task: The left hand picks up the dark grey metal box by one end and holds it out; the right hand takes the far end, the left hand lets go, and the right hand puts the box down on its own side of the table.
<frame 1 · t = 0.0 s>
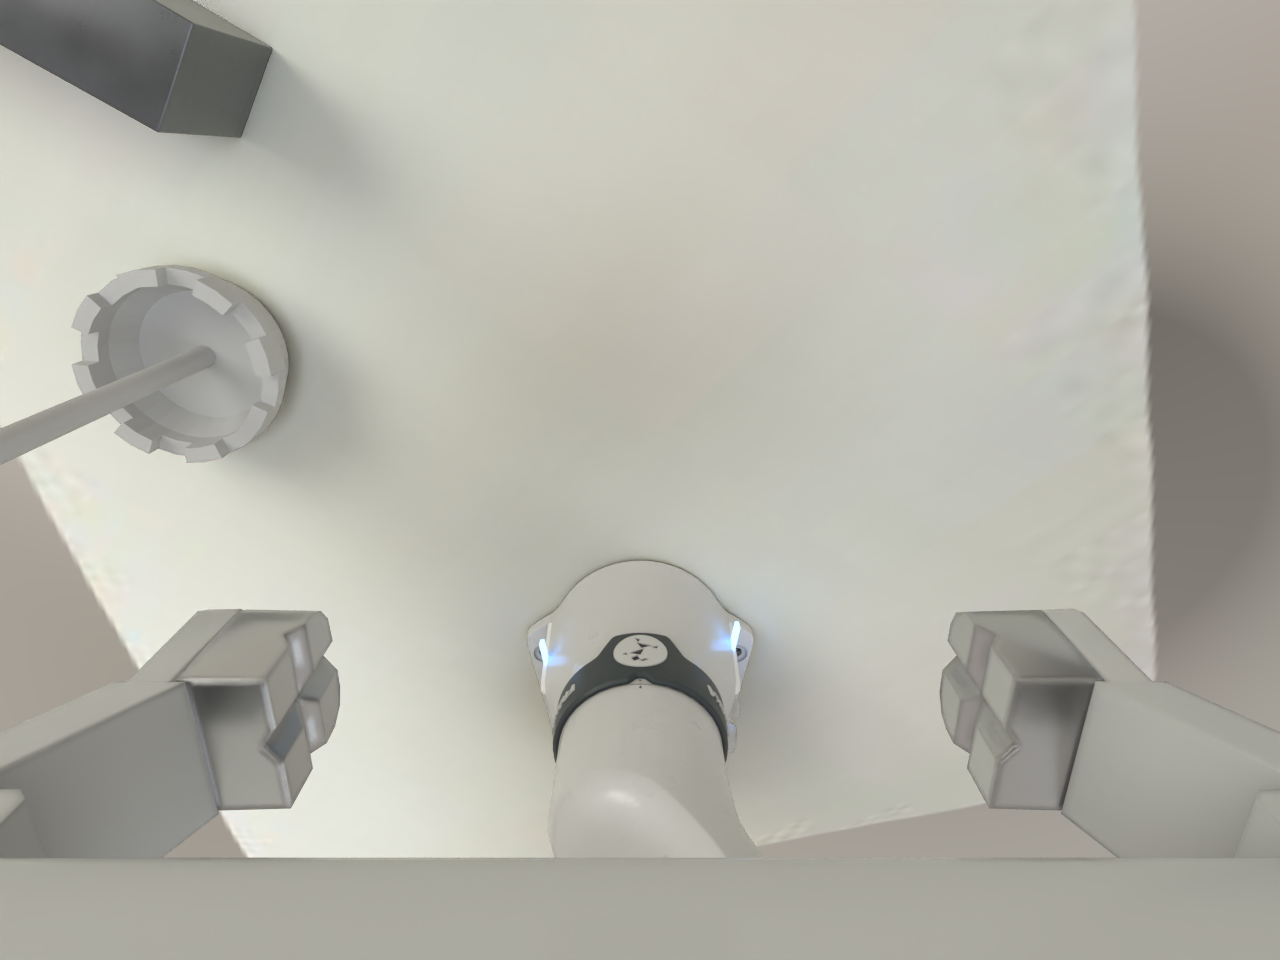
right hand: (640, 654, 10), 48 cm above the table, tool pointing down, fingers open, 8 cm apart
flag stand: (213, 352, 57), on the table
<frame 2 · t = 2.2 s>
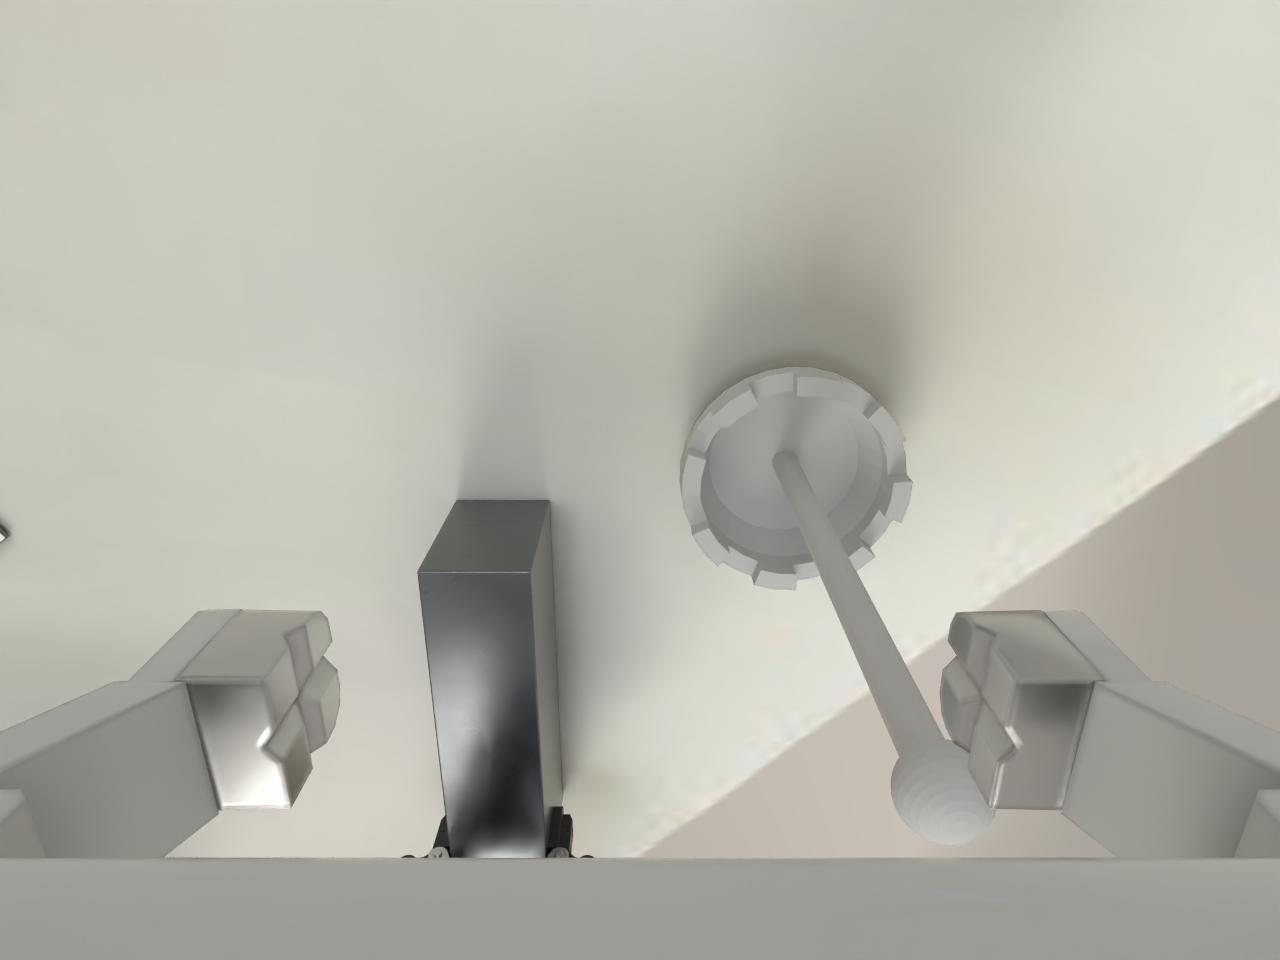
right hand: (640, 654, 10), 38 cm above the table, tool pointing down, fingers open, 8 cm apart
flag stand: (780, 455, 50), on the table
box: (513, 660, 56), on the table, touching left hand
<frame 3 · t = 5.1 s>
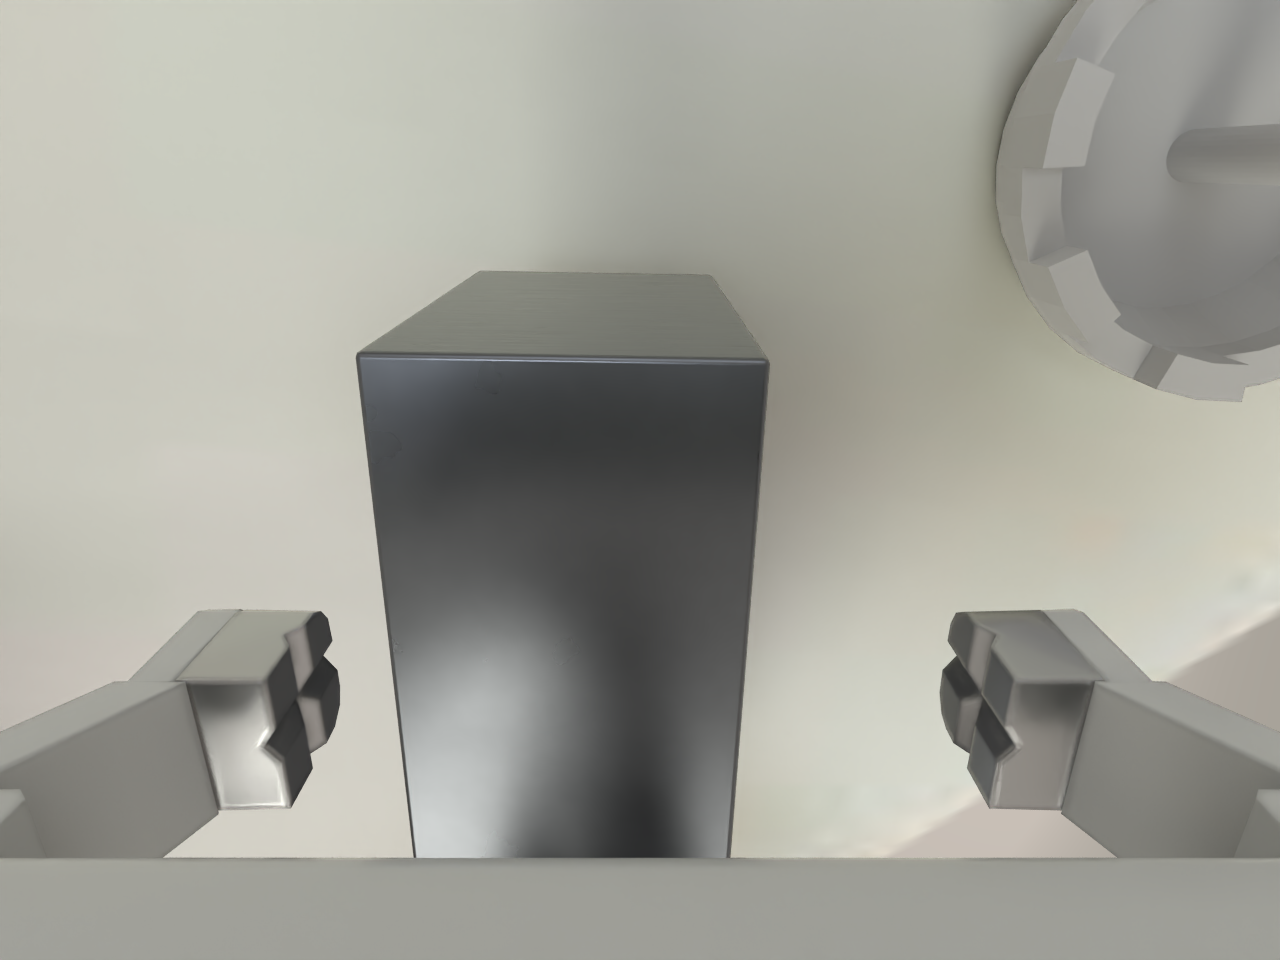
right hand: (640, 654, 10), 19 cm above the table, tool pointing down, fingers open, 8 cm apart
flag stand: (1166, 156, 25), on the table
box: (596, 670, 25), point 6 cm above the table, touching left hand
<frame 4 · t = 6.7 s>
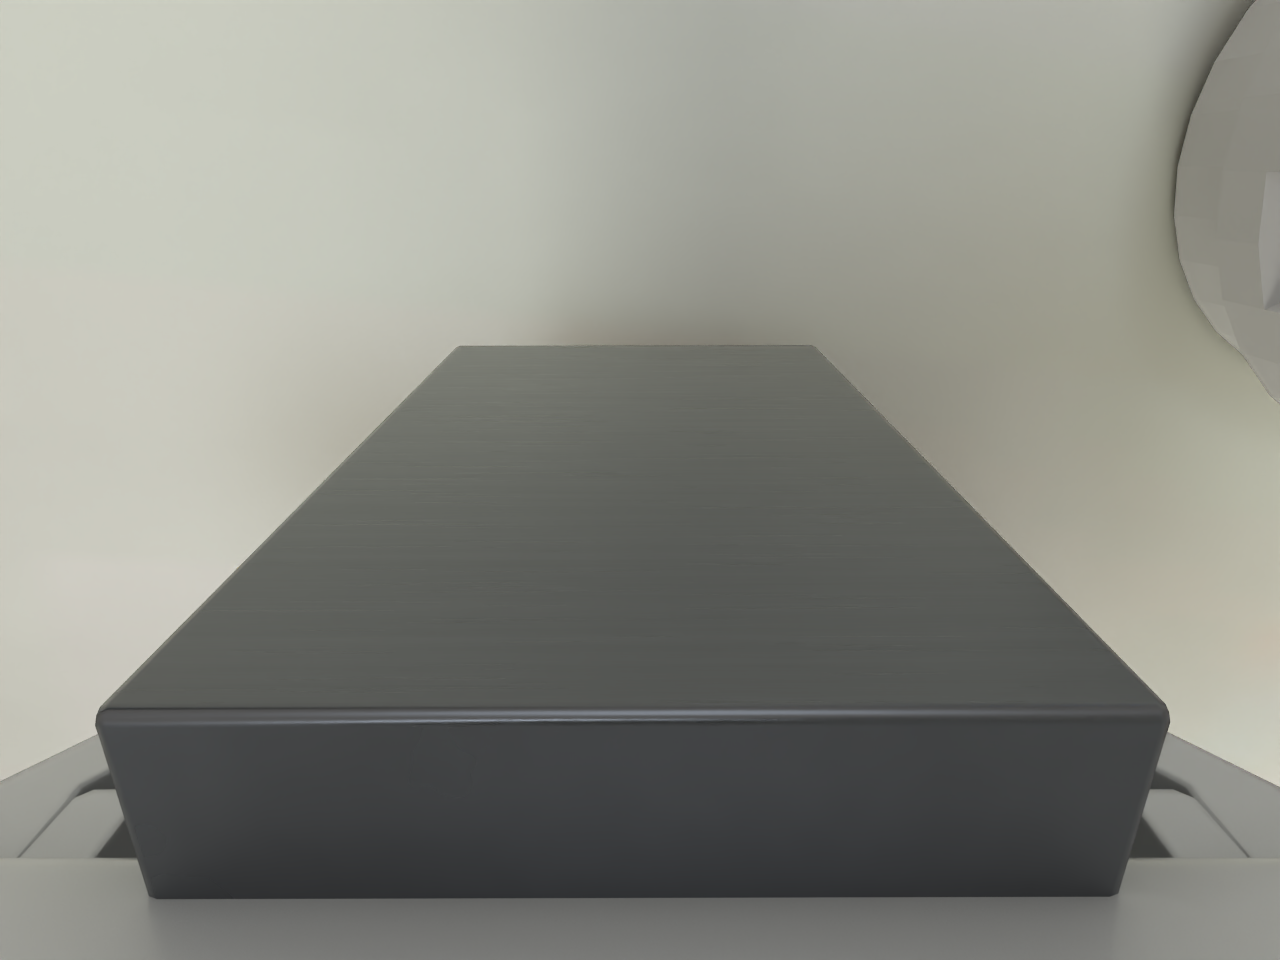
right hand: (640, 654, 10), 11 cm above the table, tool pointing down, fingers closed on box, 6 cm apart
box: (637, 883, 18), point 6 cm above the table, touching right hand, left hand
when the left hand's fingers open (12 cm above the table, at t = 7.8 s): box stays where it is, held by the right hand.
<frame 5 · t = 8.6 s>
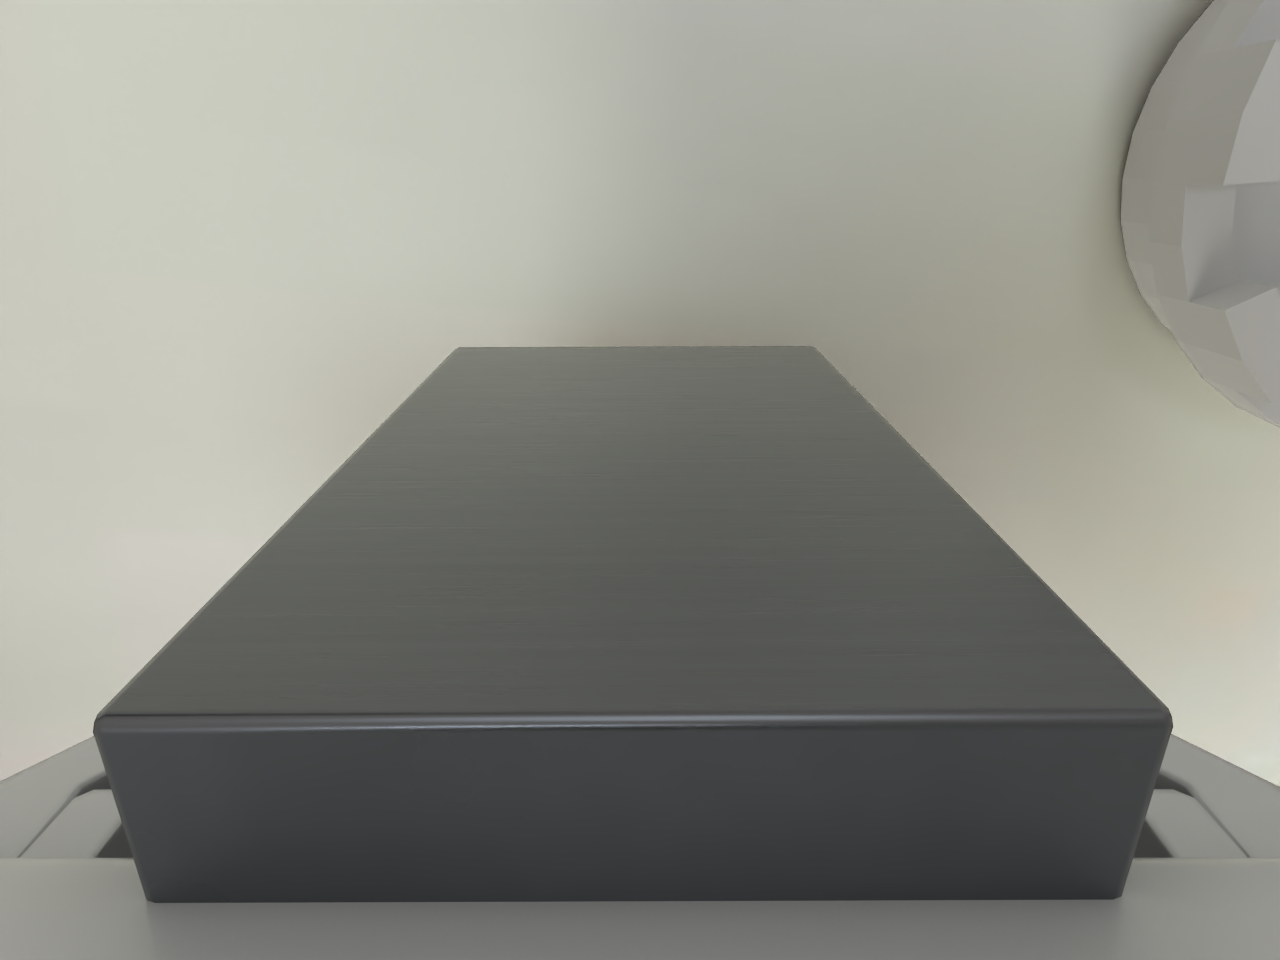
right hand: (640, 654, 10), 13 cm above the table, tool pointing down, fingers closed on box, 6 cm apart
box: (637, 884, 18), point 9 cm above the table, touching right hand
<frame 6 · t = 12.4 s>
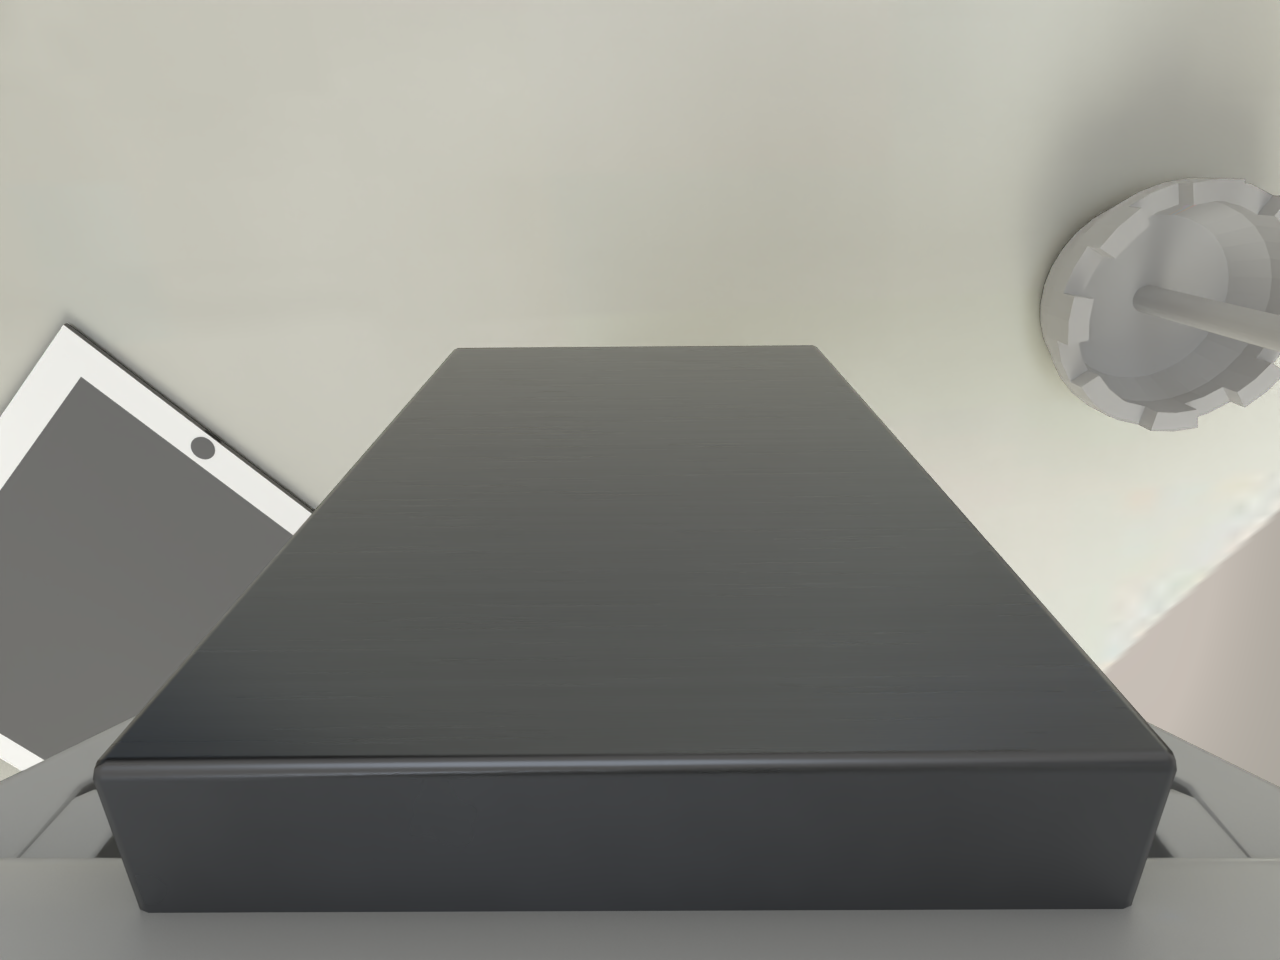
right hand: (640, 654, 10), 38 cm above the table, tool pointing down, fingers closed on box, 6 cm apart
flag stand: (1133, 296, 46), on the table
box: (640, 875, 18), point 34 cm above the table, touching right hand
tablet: (86, 596, 54), on the table
when the right hand's fingers open (6 cm above the table, at t = 18.2 s): box stays where it is, on the table.
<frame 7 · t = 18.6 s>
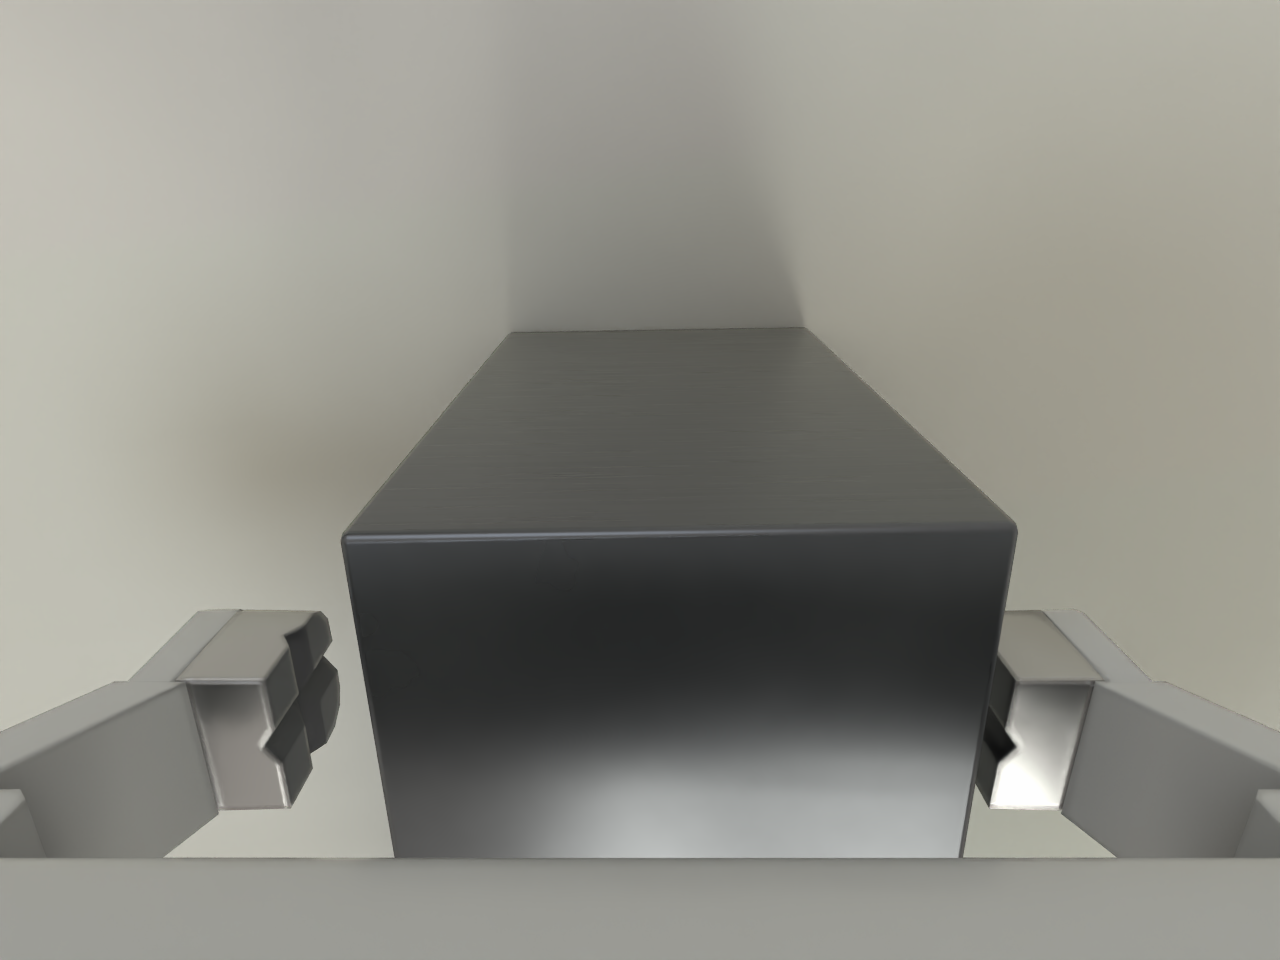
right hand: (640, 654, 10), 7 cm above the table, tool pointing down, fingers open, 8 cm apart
box: (662, 805, 20), on the table
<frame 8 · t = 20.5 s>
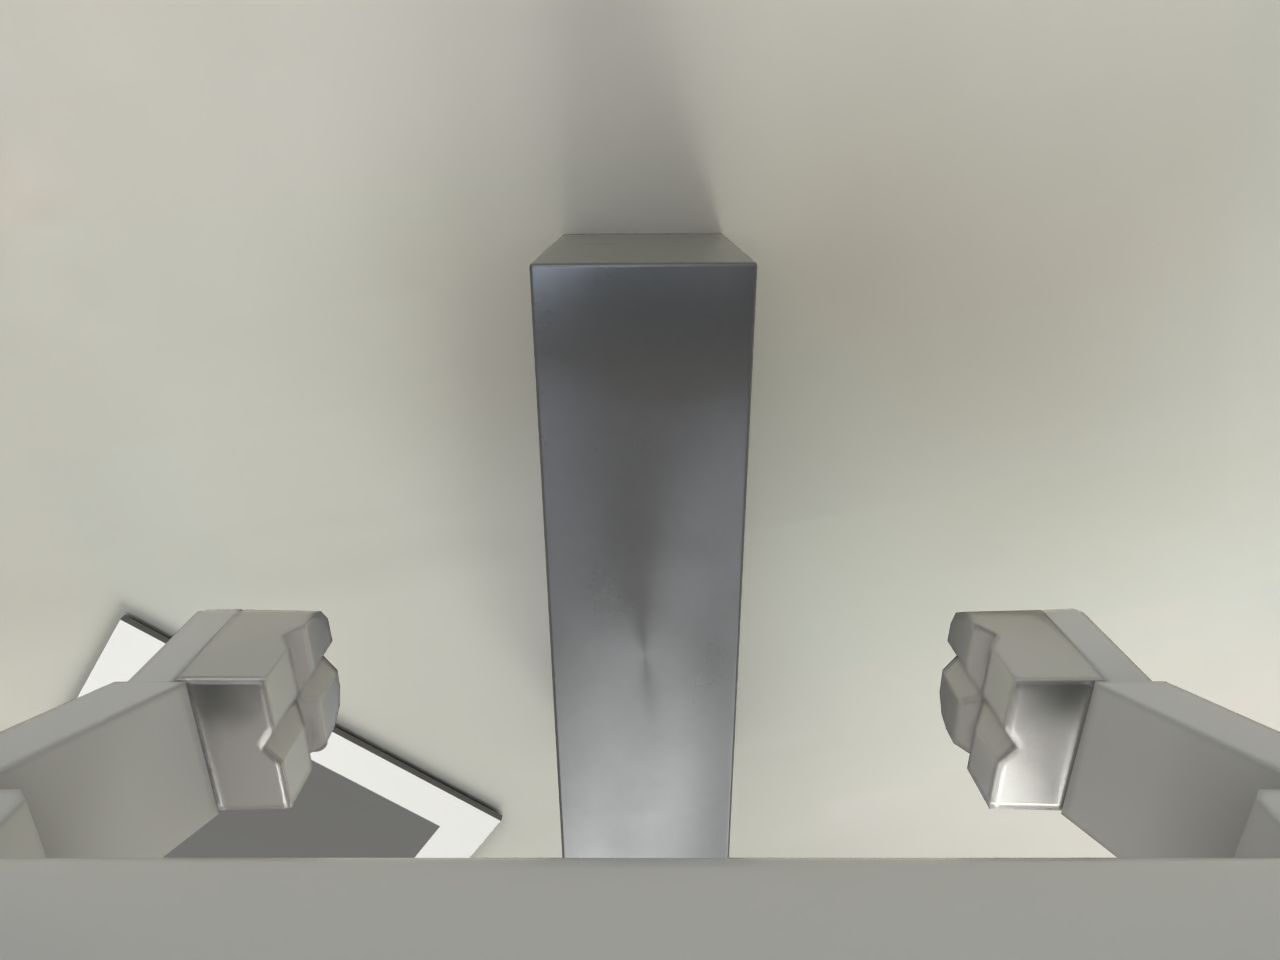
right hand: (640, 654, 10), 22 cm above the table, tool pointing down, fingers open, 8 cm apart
box: (644, 527, 34), on the table
tablet: (188, 912, 43), on the table
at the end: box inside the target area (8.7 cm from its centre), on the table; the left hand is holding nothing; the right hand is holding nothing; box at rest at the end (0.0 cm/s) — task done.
